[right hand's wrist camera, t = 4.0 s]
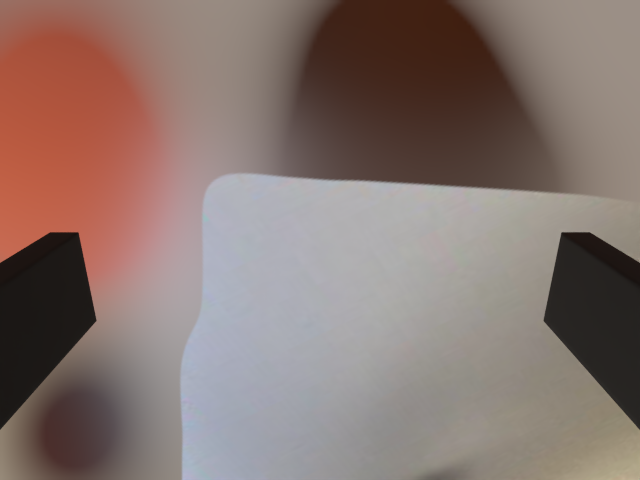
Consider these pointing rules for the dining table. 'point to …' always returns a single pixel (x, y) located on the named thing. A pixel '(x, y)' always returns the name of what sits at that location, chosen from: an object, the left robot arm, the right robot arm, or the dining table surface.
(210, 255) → the dining table surface
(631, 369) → the right robot arm
